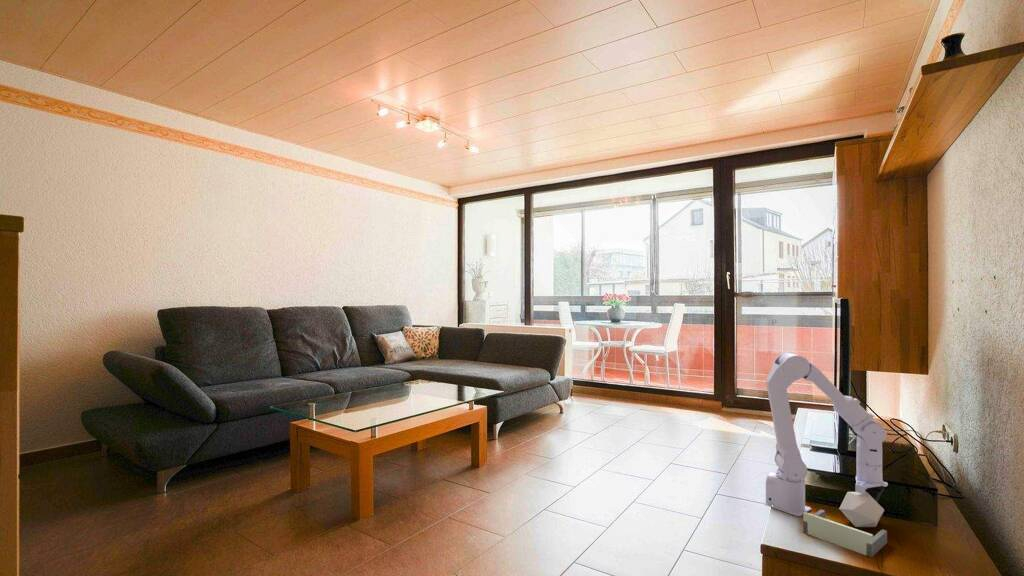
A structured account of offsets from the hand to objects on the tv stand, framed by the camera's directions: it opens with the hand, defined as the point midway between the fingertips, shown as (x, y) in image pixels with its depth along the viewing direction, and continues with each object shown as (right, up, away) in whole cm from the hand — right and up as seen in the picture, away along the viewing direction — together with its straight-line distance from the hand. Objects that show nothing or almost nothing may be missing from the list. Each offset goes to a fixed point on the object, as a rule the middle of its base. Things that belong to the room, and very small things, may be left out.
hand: (869, 512), depth 132 cm
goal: (-14, -1, -11) cm, 18 cm away
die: (-5, -2, -4) cm, 6 cm away
